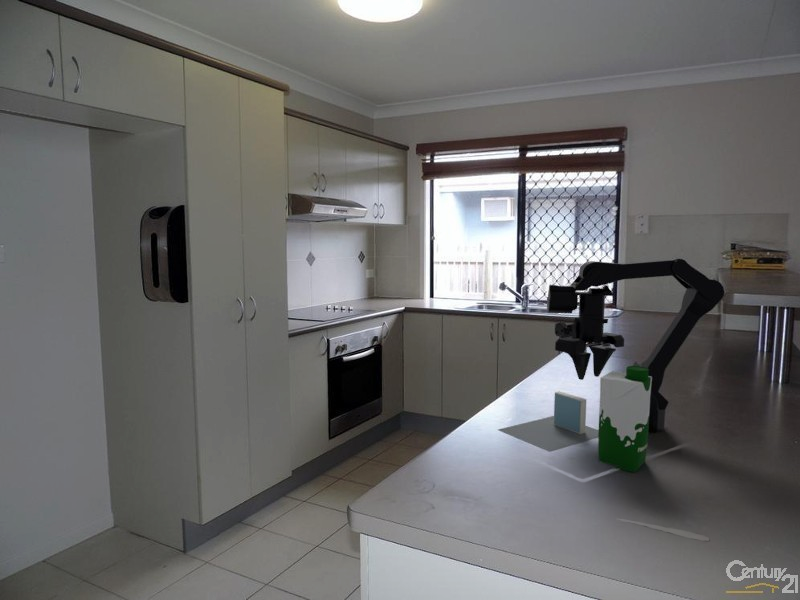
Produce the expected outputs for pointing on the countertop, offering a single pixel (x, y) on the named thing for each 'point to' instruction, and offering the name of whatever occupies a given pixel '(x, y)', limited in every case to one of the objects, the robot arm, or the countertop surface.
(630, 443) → the milk carton
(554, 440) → the mat
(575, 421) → the tile
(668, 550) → the countertop surface
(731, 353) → the countertop surface
